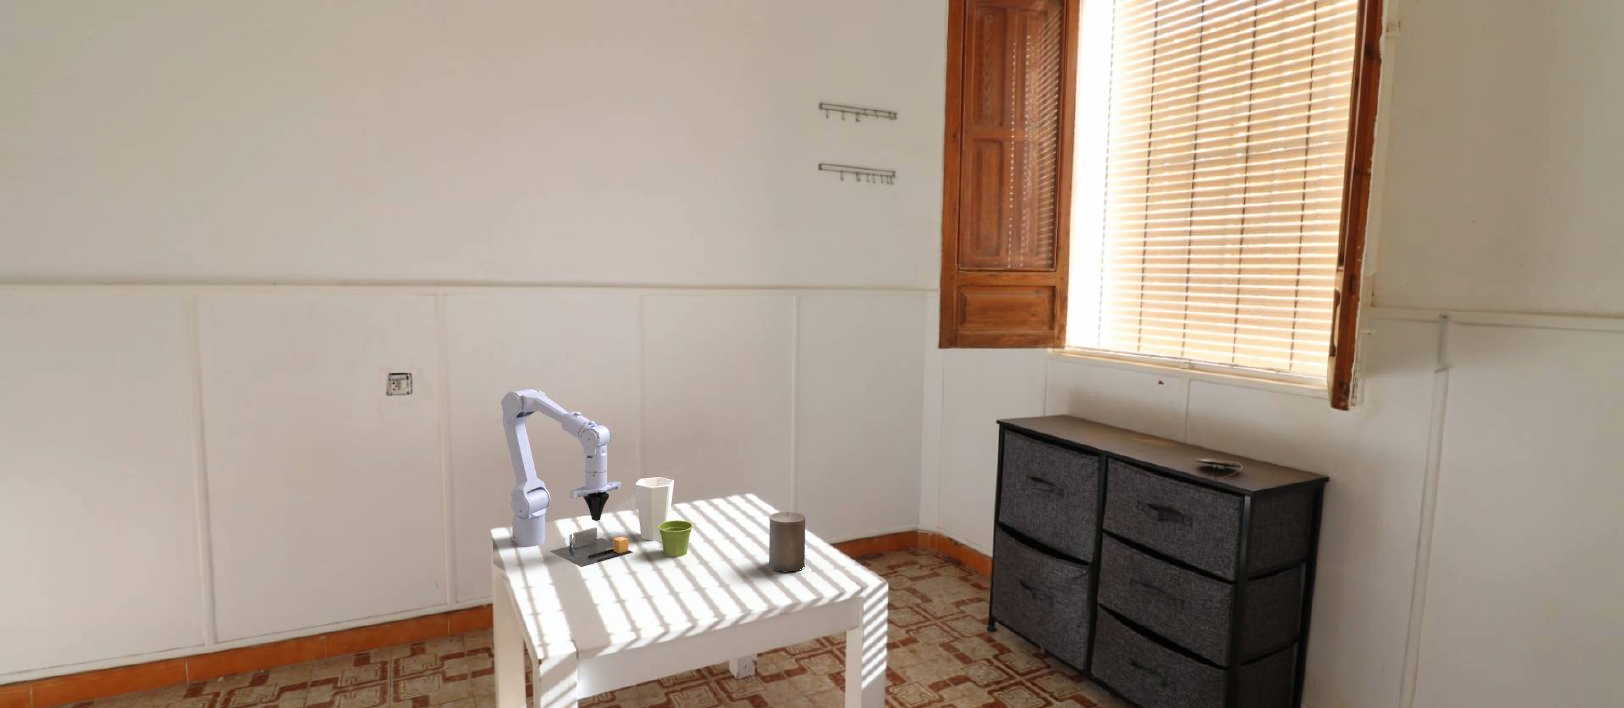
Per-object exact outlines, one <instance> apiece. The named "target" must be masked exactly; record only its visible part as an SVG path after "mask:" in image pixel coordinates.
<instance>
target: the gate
mask: <svg viewBox="0 0 1624 708" xmlns="http://www.w3.org/2000/svg"><path fill="white" fill-rule="evenodd" d="M572 534H573V547H574V548H576V547H580V546H584V545H587V544H591V543H595V542H597V539H598V528H597V527H595V526H594V527H592V528H586V529H583V530H582V529H581V530H579V531H575V532H573V533H572Z"/></svg>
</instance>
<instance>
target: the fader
mask: <svg viewBox="0 0 1624 708" xmlns="http://www.w3.org/2000/svg"><path fill="white" fill-rule="evenodd" d="M613 543H614V552H616V553H622V552H625V551H628V550H629V538H627V537H624V536H619V537H616V538H613Z"/></svg>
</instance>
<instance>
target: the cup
mask: <svg viewBox="0 0 1624 708" xmlns="http://www.w3.org/2000/svg"><path fill="white" fill-rule="evenodd" d="M634 484H635V491H636V492H635V493H636V503H637V513H638V522H639V529H640V530H639V531H640V537H641V539H643V540H647V541H656V542H658V543H662V538H661V534H660V530H659V529H658V525H659V524H661V523H663V522H667V521H670V518H671V517H670V515H671V508H672V500H673V493H674V484H675V480H674V479H670V478H665V477H660V476H658V477H657V476H656V477H648V478H647V477H645V478H640V479H638V481H636V483H634Z"/></svg>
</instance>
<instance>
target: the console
mask: <svg viewBox="0 0 1624 708" xmlns="http://www.w3.org/2000/svg"><path fill="white" fill-rule="evenodd" d="M568 537H569V541H568V542H569V546H568V545H567V546H565V547H561V548H556V549H553V550H550V551H549V552H550V553H552V554H555V555H556V556H558V557H560V558H562V559H565V560H567V561H569V562H571V563H573V564H574V565H577V566H579V567H580V568H584V567H588V566H590V565H594V564H596V563H597V564H598V563H601V562H605V561H608V560H612V559H615V558H619V557H623V556H626V555H629V554H633V553H634V551H632V550H630V549H628V551H625V552H622V553H616V552H614V542H612V541H609V540H607V539H605V538H602V537H600V538H597V542H595V543H591V544H587V545H584V546H580V547H576V548H574V547H573V533H571V534H569V536H568Z"/></svg>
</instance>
